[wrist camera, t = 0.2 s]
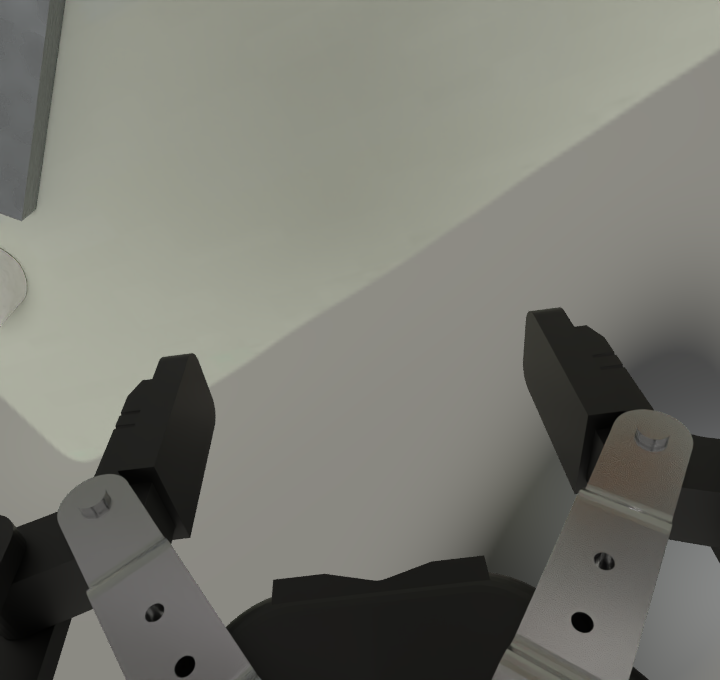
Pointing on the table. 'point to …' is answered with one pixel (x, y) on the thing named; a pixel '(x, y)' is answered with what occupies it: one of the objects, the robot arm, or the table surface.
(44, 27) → the socket block
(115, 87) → the table surface
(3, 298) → the white plastic bottle
